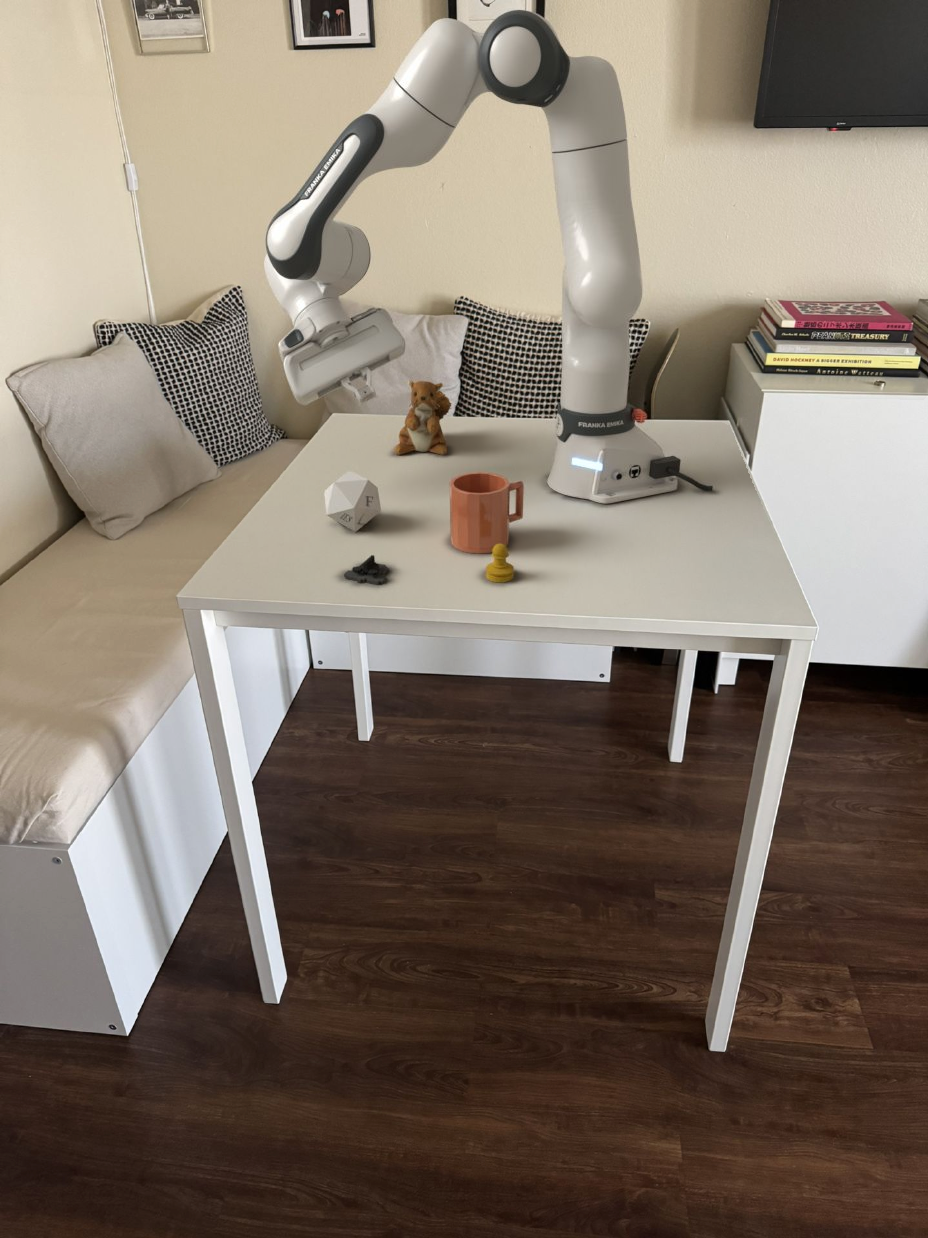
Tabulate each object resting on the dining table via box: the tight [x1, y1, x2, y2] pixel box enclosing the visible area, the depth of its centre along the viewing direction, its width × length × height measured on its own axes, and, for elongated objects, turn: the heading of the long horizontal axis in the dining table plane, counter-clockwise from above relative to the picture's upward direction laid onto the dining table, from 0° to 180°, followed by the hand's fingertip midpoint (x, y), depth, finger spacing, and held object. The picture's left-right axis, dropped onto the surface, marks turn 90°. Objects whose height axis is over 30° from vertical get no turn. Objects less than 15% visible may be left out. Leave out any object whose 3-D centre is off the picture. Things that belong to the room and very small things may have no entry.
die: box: [323, 470, 382, 533], centre depth 142 cm, size 8×9×10 cm
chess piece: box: [485, 544, 515, 583], centre depth 126 cm, size 4×4×5 cm
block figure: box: [343, 554, 390, 586], centre depth 128 cm, size 6×2×6 cm
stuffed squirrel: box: [393, 380, 452, 456], centre depth 172 cm, size 10×14×13 cm
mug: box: [449, 471, 525, 555], centre depth 136 cm, size 12×9×10 cm
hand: (368, 399), depth 145 cm, fingers closed
